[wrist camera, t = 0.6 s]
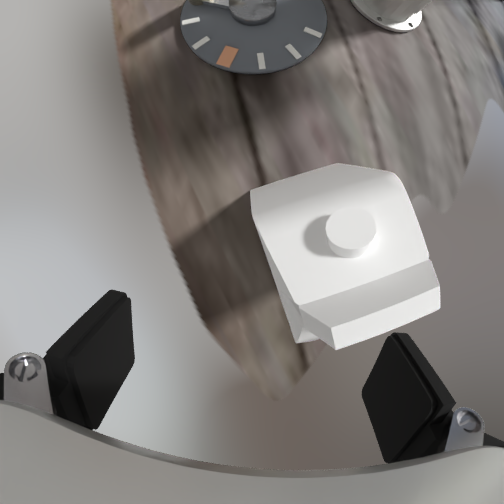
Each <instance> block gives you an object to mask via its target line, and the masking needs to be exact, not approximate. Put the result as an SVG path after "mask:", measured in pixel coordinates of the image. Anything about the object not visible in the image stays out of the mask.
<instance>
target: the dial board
mask: <svg viewBox="0 0 504 504" xmlns="http://www.w3.org/2000/svg"><path fill="white" fill-rule="evenodd" d="M276 1H277V4H276V13H275V16H274V17H273V19H272V20H270V21H269V22H267V23H265V24H263V25H259V26H247V25H243V24H240V23H238V22H237V21H236V20H234V19H233V17H232V15H231V12H230V10H228V9H224V8H220V7H215V6H210V5H205V4H203V5H192V4H190V3H189V1H188V0H187V1H186V2H185V4H184V7H183V9H182V13H181V18H180V25H181V31H182V34H183V37H184V39H185V41H186V42H187V44H188V46H189V47H190V48H191V50H192V51H193V52H194V53H195V54H196V55H197V56H198V57H199V58H201V59H202V60H203V61H205V62H206V63H208V64H210V65H212V66H214V67H216V68H219V69H222V70H225V71H229V72H233V73H240V74H266V73H273V72H277V71H281V70H284V69H287V68H290V67H292V66H294V65H296V64H298V63H300V62H302V61H303V60H305V59H306V58H307V57H308V56H310V55H311V54H312V53H313V52H314V51H315V49H316V48H317V47H318V46H319V44H320V42H321V41H322V39H323V36H324V34H325V31H326V27H327V14H326V9H325V7H324V4H323V2H322V0H276Z"/></svg>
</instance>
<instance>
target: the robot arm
mask: <svg viewBox="0 0 504 504" xmlns="http://www.w3.org/2000/svg"><path fill="white" fill-rule="evenodd" d="M350 1H351V2H352V4H353V5H354V6H355V8H356V9H357V10H358V11H359V12H360V13H361V14H362V15H363V16H364V17H366V18H367V19H368V20H370V21H371V22H373V23H375V24H376V25H378V26H380V27H382V28H385V29H388V30H391V31H395V32H409V31H412V30H414V29H415V28H416V27H418V26H419V24H420V23H421V20H422V12H421V10H422V9H423V8H424V7H426V6H427V5H428V4H429V3H430V2H432V1H433V0H350ZM46 353H47V354H46V356H45V357H44V358H43V359H42V358H41V357H40V356H38V355H37V354H34V353H20V354H17V355H15V356H13V357H12V358H10V359H9V361H8V362H7V363H6V365H5V369H4V373H0V504H504V442H503V441H501V440H499V439H497V438H494V437H492V436H490V435H487V434H486V433H484V422H483V419H482V418H481V416H480V415H479V414H478V413H477V412H476V411H474V410H472V409H470V408H466V407H461V408H458V409H457V410H456V411H454V413H453V412H452V410H451V409H452V408H453V406H454V405H455V404H456V402H455V401H454V399H453V397H452V396H451V394H450V393H449V391H448V390H447V388H446V387H445V385H444V384H443V382H442V381H441V379H440V378H439V376H438V375H437V374H436V372H435V371H434V369H433V368H432V367H431V365H430V364H429V363H428V361H427V359H426V358H425V357H424V355H423V354H422V352H421V351H420V350H419V348H418V347H417V346H416V344H415V343H414V341H413V340H412V339H411V337H410V336H409V335H408V334H406V333H392V334H391V336H388V337H387V339H386V341H385V343H384V345H383V347H382V350H381V352H380V354H379V356H378V358H377V360H376V363H375V365H374V367H373V369H372V371H371V373H370V375H369V377H368V379H367V381H366V383H365V385H364V387H363V389H362V398H363V401H364V403H365V406H366V409H367V412H368V415H369V418H370V420H371V423H372V426H373V429H374V432H375V435H376V438H377V441H378V444H379V447H380V450H381V452H382V456H383V459H384V461H385V462H386V463H388V464H382V465H376V466H368V467H359V468H348V469H334V470H271V469H257V468H245V467H236V466H228V465H221V464H214V463H208V462H203V461H197V460H192V459H187V458H182V457H177V456H173V455H169V454H165V453H161V452H157V451H153V450H150V449H146V448H143V447H139V446H136V445H133V444H130V443H127V442H123V441H120V440H118V439H114V438H111V437H108V436H106V435H103V434H100V433H98V432H95V431H93V429H97V428H98V427H99V426H100V424H101V421H102V420H103V418H104V416H105V414H106V413H107V411H108V409H109V407H110V405H111V404H112V402H113V400H114V398H115V396H116V395H117V393H118V391H119V389H120V387H121V386H122V384H123V382H124V380H125V379H126V377H127V375H128V373H129V372H130V370H131V368H132V366H133V364H134V359H135V355H134V344H133V330H132V313H131V299H130V298H128V297H127V295H126V293H124V292H120V291H115V290H109V291H108V292H107V293H106V294H105V295H104V296H103V297H102V298H101V299H100V300H98V301H97V302H96V303H95V304H94V305H93V306H92V307H91V308H90V309H89V310H88V311H87V312H86V313H85V314H84V315H83V316H82V317H81V318H79V319H78V321H76V322H75V323H74V325H72V326H71V327H70V328H69V329H68V330H67V331H66V333H64V334H63V335H62V336H61V337H60V338H59V339H58V340H57V341H56V342H55V343H54V344H53V345H52V346H51V347H50V349H49V350H48V351H47V352H46Z"/></svg>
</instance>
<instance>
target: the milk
mask: <svg viewBox="0 0 504 504" xmlns="http://www.w3.org/2000/svg"><path fill="white" fill-rule="evenodd" d="M250 198H251V211H252V217H253V220H254V223H255V226H256V228H257V231H258V234H259V237H260V240H261V243H262V246H263V249H264V251H265V254H266V257H267V260H268V263H269V266H270V269H271V272H272V275H273V278H274V281H275V283H276V286H277V289H278V292H279V295H280V298H281V301H282V304H283V307H284V310H285V313H286V316H287V319H288V322H289V325H290V328H291V331H292V334H293V337H294V340H295V342H296V343H301V342H309V341H314V340H318V339H321V340H323V341H324V342H325V343H327V344H328V345H330V346H331V347H333V348H334V349H335V350H337V349H340V348H343V347H346V346H349V345H352V344H355V343H358V342H360V341H364V340H366V339H369V338H372V337H374V336H377V335H380V334H382V333H385V332H387V331H390V330H392V329H395V328H397V327H400V326H402V325H405V324H407V323H409V322H412V321H414V320H416V319H418V318H421V317H423V316H425V315H427V314H429V313H432V312H434V311H436V310H438V309H440V285H439V282H438V279H437V276H436V273H435V270H434V267H433V265H432V262H431V260H428V258H429V253H428V250H427V247H426V243H425V240H424V238H423V235H422V232H421V229H420V226H419V223H418V220H417V218H416V215H415V212H414V210H413V207H412V205H411V202H410V200H409V197H408V195H407V192H406V190H405V188H404V186H403V184H402V182H401V181H400V179H399V178H398V177H397V175H396V174H395V173H392V172H390V171H385V170H379V169H373V168H367V167H361V166H355V165H348V164H341V163H336V164H332V165H329V166H325V167H322V168H318V169H315V170H312V171H308V172H305V173H302V174H299V175H295V176H292V177H289V178H286V179H283V180H279V181H276V182H273V183H270V184H267V185H264V186H261V187H258V188H255V189H252V190H250Z"/></svg>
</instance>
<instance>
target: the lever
mask: <svg viewBox="0 0 504 504" xmlns="http://www.w3.org/2000/svg"><path fill="white" fill-rule="evenodd" d="M188 1H189V3H190V4H192V5H203V4H205V5H210V6H215V7H220V8H224V9H228V10H230V12H231V15H232V17H233V19H234V20H236V21H237V22H238V23H240V24H243V25H247V26H259V25H263V24H265V23H267V22H269V21H270V20H272V19H273V17H274V16H275V13H276V4H277V1H276V0H188Z"/></svg>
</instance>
